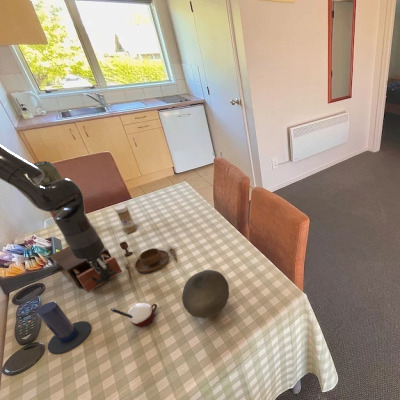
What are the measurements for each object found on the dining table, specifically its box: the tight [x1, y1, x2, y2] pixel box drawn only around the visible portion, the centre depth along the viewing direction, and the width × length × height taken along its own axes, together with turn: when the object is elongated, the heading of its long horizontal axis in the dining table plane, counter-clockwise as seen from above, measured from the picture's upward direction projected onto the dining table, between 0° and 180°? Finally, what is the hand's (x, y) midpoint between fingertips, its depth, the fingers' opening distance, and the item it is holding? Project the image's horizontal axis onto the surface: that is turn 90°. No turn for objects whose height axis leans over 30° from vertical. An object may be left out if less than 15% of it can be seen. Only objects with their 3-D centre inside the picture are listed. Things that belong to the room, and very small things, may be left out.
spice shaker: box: [35, 301, 78, 343], centre depth 76 cm, size 4×4×13 cm
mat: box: [47, 320, 92, 355], centre depth 79 cm, size 10×10×1 cm
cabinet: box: [49, 246, 112, 290], centre depth 101 cm, size 15×13×9 cm
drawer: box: [71, 253, 123, 293], centre depth 97 cm, size 18×11×7 cm, turn 59°
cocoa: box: [110, 302, 158, 328], centre depth 80 cm, size 10×6×12 cm, turn 128°
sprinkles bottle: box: [114, 204, 137, 234], centre depth 121 cm, size 5×5×13 cm
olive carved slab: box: [31, 160, 63, 216], centre depth 115 cm, size 9×12×35 cm
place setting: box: [119, 241, 178, 279], centre depth 107 cm, size 18×20×6 cm
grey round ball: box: [181, 269, 230, 319], centre depth 83 cm, size 14×14×15 cm
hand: (107, 279), depth 92 cm, fingers closed
